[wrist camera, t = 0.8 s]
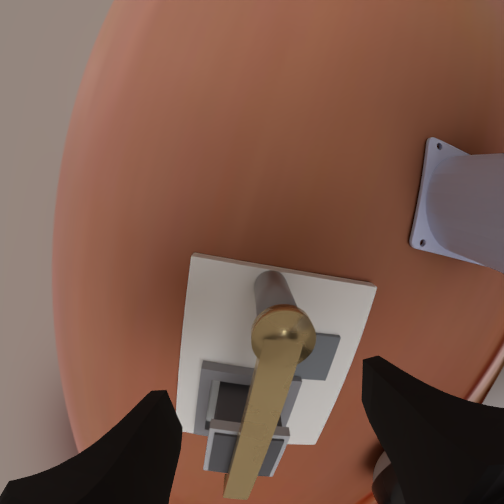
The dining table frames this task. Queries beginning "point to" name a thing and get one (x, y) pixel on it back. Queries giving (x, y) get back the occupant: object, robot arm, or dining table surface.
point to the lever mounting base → (239, 337)
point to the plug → (227, 431)
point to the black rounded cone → (386, 483)
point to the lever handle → (267, 389)
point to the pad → (319, 358)
